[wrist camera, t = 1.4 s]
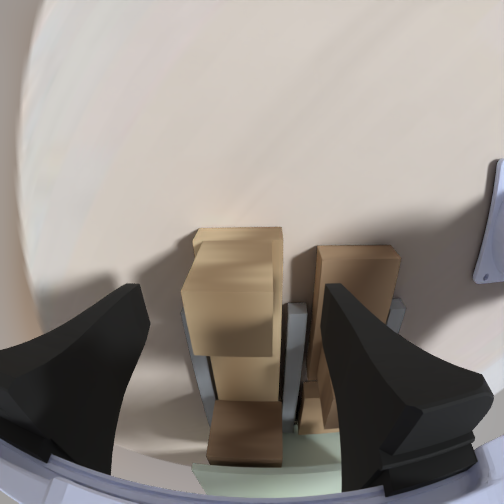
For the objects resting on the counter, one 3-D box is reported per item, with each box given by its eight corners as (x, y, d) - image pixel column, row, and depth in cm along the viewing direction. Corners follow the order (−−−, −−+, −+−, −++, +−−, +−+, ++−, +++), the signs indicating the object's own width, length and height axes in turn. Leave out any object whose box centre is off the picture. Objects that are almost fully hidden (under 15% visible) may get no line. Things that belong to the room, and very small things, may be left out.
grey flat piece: (400, 298, 16) (409, 314, 14) (357, 417, 22) (360, 431, 20) (184, 302, 17) (178, 319, 15) (212, 421, 22) (210, 435, 21)
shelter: (374, 381, 19) (395, 460, 13) (356, 423, 22) (368, 489, 16) (207, 386, 20) (191, 469, 14) (217, 427, 23) (207, 496, 17)
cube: (281, 401, 18) (282, 458, 14) (279, 431, 20) (279, 480, 16) (215, 399, 18) (206, 455, 14) (222, 430, 20) (216, 478, 16)
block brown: (390, 245, 14) (437, 307, 9) (363, 359, 18) (382, 426, 13) (317, 245, 15) (340, 314, 10) (305, 363, 18) (313, 434, 13)
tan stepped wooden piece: (281, 226, 14) (288, 291, 9) (276, 415, 21) (276, 473, 16) (199, 228, 14) (166, 291, 10) (226, 414, 22) (219, 472, 17)
